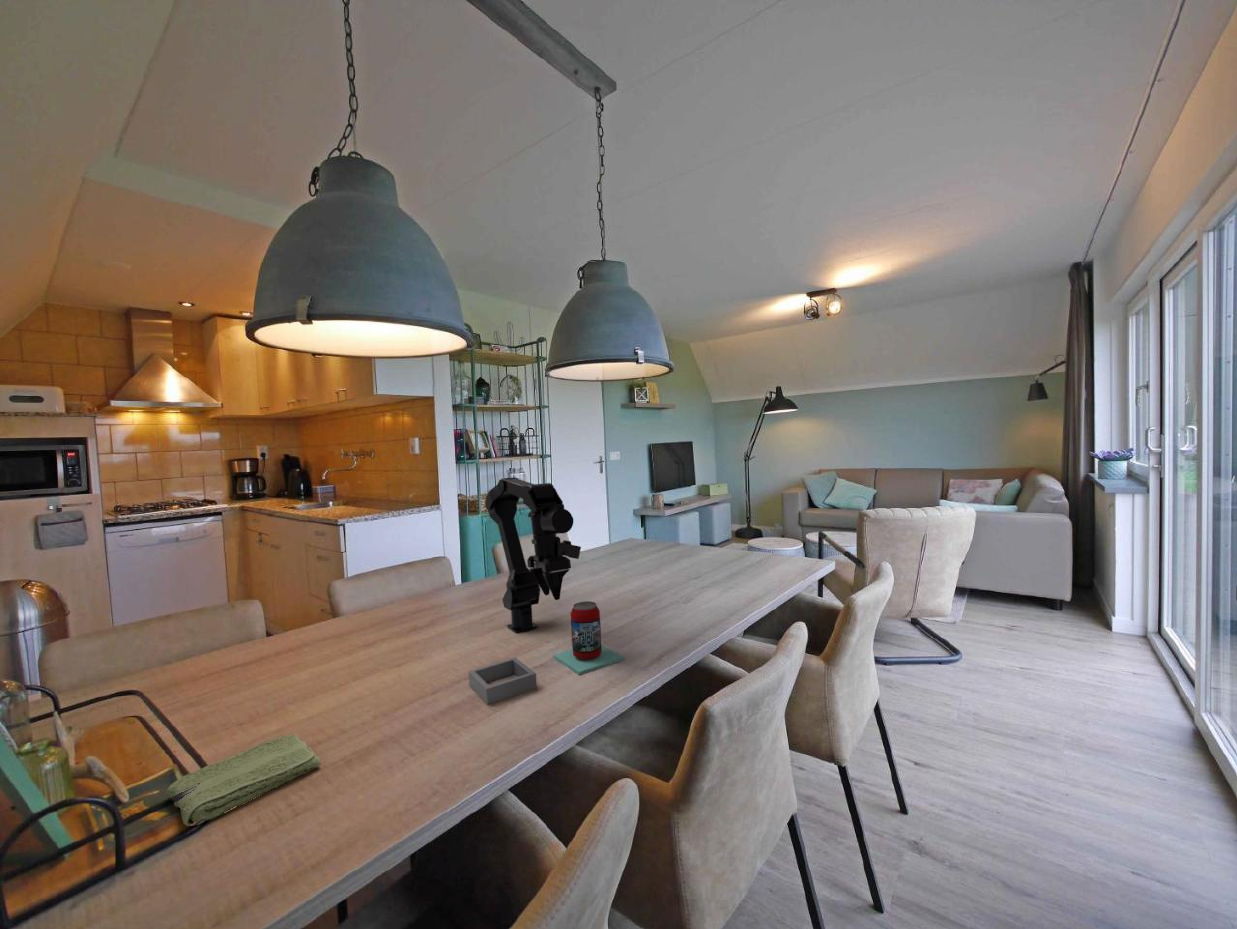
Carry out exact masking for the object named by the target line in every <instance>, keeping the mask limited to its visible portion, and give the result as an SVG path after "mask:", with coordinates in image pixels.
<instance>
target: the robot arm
mask: <svg viewBox="0 0 1237 929" xmlns="http://www.w3.org/2000/svg"><path fill="white" fill-rule="evenodd" d="M521 499H522V504H524V505H525V506H526V507H527V508H528V509H529V510H530V511H529V512H528V514H527V516H528V518H530V521H531V531H532V538H533V539H531V544H533V547H534V555H529V557H528V559H527V560H525V556H524V552H523V549H522V545H521V540H520V536H519V533H518V529H517V524H516V522H515V517H516V515H517V511H518V503H519V501H520V500H521ZM484 504H485V509H486V510H487V512H488V516H489V518H490V519H491V520H492V521H493V522H494V523H496V525H497V527H498V532H499V535H500V539H501V544H502V547H503V551H504V555H505V559H506V563H507V568H508V573H509V574H508V577H507V580H506V583H505V584H506V591H505V593H504V595H503V597H502V603H503V608H504V609H506V610H508V611H510V616H511V617H510V618H511V624H507V629H510V630H511V631H513V632H514V633H515V634H517V633H521V632H526V631H529V630H534V629H537V628H538V626H539V625H537V624H536V623H534V621H533V605H539V601H540V594H541V591H542V592H543V595H544V596H549V595H550V592H551V595H552V597H553V599H554V600H555V601H559V600H560V599H561V592H562V584H563V580H564V576H566V574H567V573H568V572H569V571H570V569H572V563H571V560H570V559H577V560H579V559H580V555H581V554H580V553H581V549H582V546H580V545H575V544H572V541H570V540H565V539H563V540H562V541H561V537H559V536H557V534H566V533H568V532H570V531H571V530H572V528H573V526H574V517H573V515H572V514H571V512H570V511H569V510H567V509H566V508H565V505H564V501H563V499H562V498H561V497H560V494H558V491H557V490H556V488H555V487H554V485H553V484H552V483H551V482H547V483H546V482H545V483H531V482H528V481H525V480H523V479H519V478H518V477H516V476H515V477H503V478H501V479H499V480H498V483H497V484H496V485H495V486H494V487H492V488H491V489H490V490H488V493H487V496H486V497H485V499H484ZM526 561H527V564H526Z"/></svg>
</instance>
